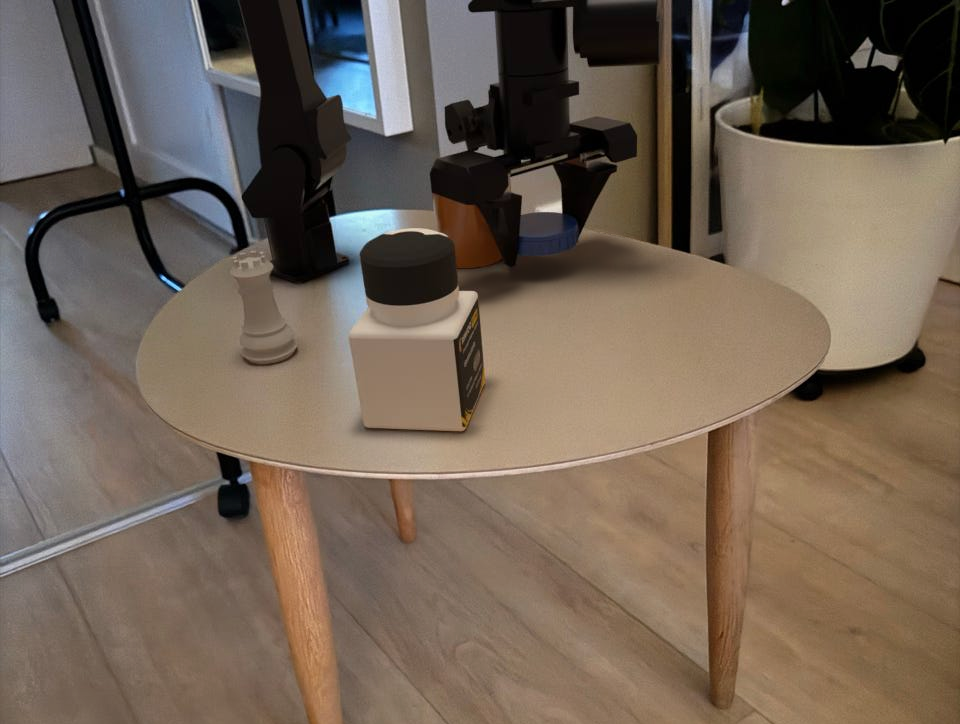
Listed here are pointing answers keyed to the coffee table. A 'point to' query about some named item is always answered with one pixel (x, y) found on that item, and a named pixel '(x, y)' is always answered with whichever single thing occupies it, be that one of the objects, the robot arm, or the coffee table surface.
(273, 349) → the rook chess piece
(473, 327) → the medicine bottle
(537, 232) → the lid
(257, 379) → the coffee table surface
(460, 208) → the jar
